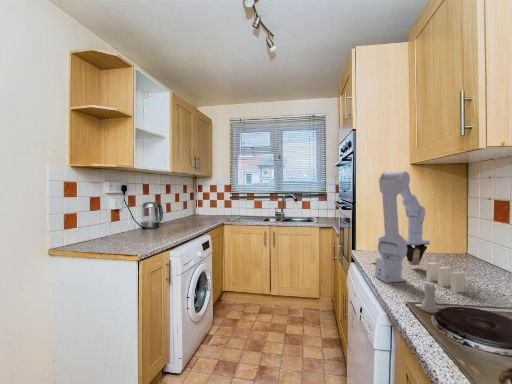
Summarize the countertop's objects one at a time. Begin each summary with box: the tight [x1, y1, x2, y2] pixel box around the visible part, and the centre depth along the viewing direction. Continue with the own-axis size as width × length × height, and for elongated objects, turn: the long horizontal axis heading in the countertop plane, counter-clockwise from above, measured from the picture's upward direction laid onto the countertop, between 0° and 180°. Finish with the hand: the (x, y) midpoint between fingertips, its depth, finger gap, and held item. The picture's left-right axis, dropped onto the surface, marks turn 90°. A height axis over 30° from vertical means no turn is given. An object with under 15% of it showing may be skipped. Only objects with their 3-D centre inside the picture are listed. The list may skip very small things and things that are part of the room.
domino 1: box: [408, 249, 421, 266], centre depth 124 cm, size 2×4×7 cm, turn 102°
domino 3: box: [437, 265, 452, 288], centre depth 104 cm, size 2×4×7 cm, turn 102°
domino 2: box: [425, 261, 440, 282], centre depth 110 cm, size 2×4×7 cm, turn 102°
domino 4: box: [450, 270, 466, 294], centre depth 99 cm, size 2×4×7 cm, turn 102°
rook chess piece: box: [420, 283, 439, 314], centre depth 84 cm, size 4×4×8 cm
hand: (414, 260), depth 124 cm, fingers closed on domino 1, 4 cm apart
